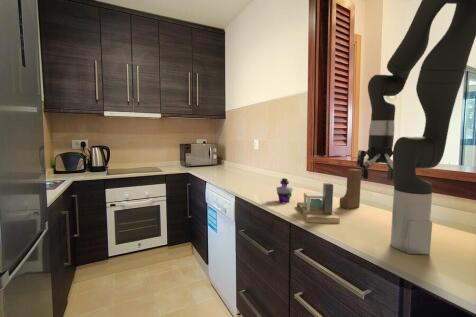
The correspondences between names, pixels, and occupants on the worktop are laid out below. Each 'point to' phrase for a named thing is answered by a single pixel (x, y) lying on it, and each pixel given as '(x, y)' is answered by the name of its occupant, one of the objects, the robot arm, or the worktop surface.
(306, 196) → the cream open box
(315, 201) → the block
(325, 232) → the worktop surface
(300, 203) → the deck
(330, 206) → the grey angular piece
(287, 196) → the potion bottle
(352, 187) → the wooden block
